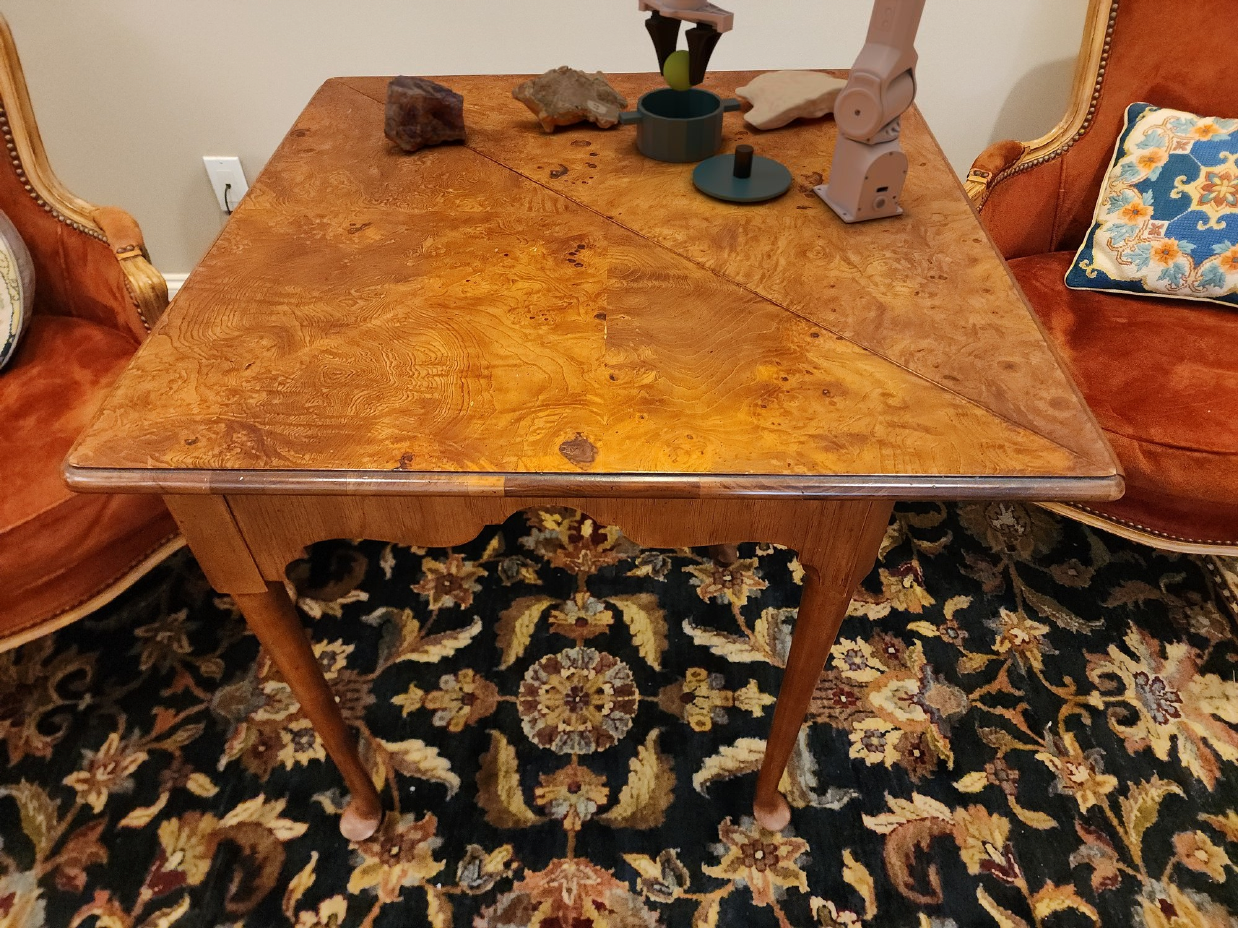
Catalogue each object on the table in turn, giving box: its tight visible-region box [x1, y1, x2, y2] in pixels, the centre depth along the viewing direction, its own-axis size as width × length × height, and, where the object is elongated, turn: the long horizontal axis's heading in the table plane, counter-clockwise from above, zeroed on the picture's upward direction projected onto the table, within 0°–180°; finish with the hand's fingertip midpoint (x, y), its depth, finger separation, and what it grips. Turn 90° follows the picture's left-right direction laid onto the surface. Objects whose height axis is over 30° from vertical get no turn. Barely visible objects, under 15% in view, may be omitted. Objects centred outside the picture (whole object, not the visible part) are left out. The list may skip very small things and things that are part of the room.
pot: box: [618, 86, 742, 164], centre depth 109 cm, size 12×18×6 cm
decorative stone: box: [734, 69, 848, 131], centre depth 118 cm, size 21×5×15 cm
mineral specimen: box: [511, 65, 629, 134], centre depth 115 cm, size 13×7×15 cm
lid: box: [691, 143, 793, 203], centre depth 101 cm, size 13×13×5 cm
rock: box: [383, 74, 467, 152], centre depth 110 cm, size 12×9×10 cm
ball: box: [663, 49, 694, 91], centre depth 103 cm, size 5×5×5 cm
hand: (681, 79), depth 104 cm, fingers closed on ball, 5 cm apart
